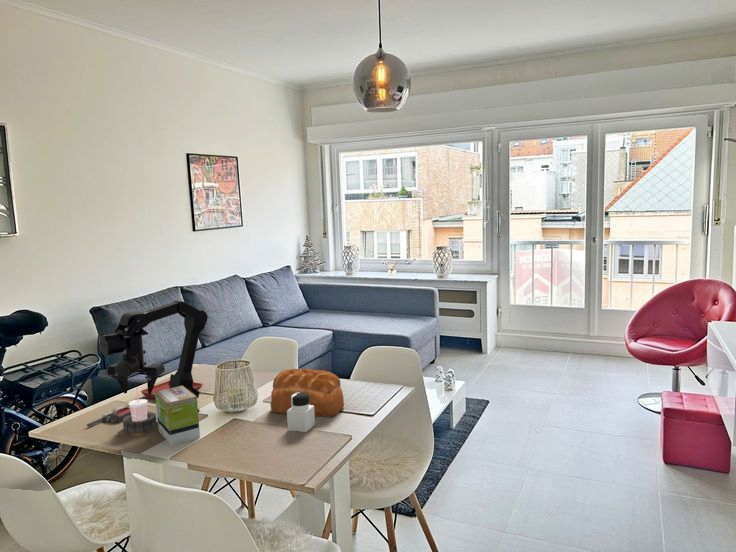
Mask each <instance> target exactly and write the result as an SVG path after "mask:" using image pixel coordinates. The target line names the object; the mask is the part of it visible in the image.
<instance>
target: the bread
mask: <svg viewBox="0 0 736 552" xmlns="http://www.w3.org/2000/svg"><path fill="white" fill-rule="evenodd" d="M299 392H304V393H307V394H308V395H309V405H314V413H315V417H334V416H335V415H337V414H338V413H339V412H341V411H342V410H343V408H344V407H345V400H344V394H343V393H344V392H343V389H342V388H341V379H340V377H339V376H338V375H336V374H335V373H333V372H331V371H328V370H323V369H322V370H320V369H319V370H316V369H311V368H304V369H300V368H291V369H290V368H289V369H284V370H282V371H281V372H279V373H278V374H277V375H276V376H275V377H274V378H273V381H272V390H271V394H270V395H271V396H270V397H271V402H270V410H272V411H273V413H278V414H287V410H289V409H290V408H291V407H292V404H291V396H292V395H293V394H295V393H299ZM340 410H341V411H340Z"/></svg>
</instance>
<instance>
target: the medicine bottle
mask: <svg viewBox="0 0 736 552" xmlns="http://www.w3.org/2000/svg"><path fill="white" fill-rule="evenodd" d="M291 404H292V407H291V408H290V409H289V410H287V413H286V420H287V421H286V422H287V431H290V432H297V431H298V432H299V433H307V432H309V431H310V430H311V429H312V428H313V427H314V426H316V418H315V417H316V416H315V413H314V405H309V395H308V394H307V393H304V392H299V393H295V394H293V395H292V396H291ZM308 430H309V431H308Z"/></svg>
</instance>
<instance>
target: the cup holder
mask: <svg viewBox="0 0 736 552" xmlns="http://www.w3.org/2000/svg"><path fill="white" fill-rule="evenodd" d="M122 425H123V428H122V429H120V430H119V431H117V433H116V435H117V436H123V435H124V436H125V435H126V436H127V437H129V436H131V437H145V436H146V437H147V436H149V435H151V432H152V433H153V432H155V431H156V430H157V429H158V421H157V413H155V412H153V411H147V419H146V420H143V421H136V422H135V421H132V417H131V415H129V416H126V417H125V418H123V422H122ZM148 434H149V435H148Z"/></svg>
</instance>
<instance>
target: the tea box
mask: <svg viewBox="0 0 736 552" xmlns="http://www.w3.org/2000/svg"><path fill="white" fill-rule="evenodd" d="M155 398H156V399H155V406H156V419H157V422H158V428H157V429H158V432H159V433H160V434H161V435H162V437H163V438H164V439H165V440H166V441H167V442H168V443H169V445H171V446H175V445H177V444H181V443H186V442H189V441H193V440H196V439H200V438H201V433H200V429H201V428H200V420H199V411H198V409H199V408H198V407H199V406H198V398H197V396H195V395H194V394H193V393H191V392H190V391H189V390H188V389H186V388H185V387H184V386H178V387H174V388H170V389H165V390H161V391H155Z"/></svg>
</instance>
